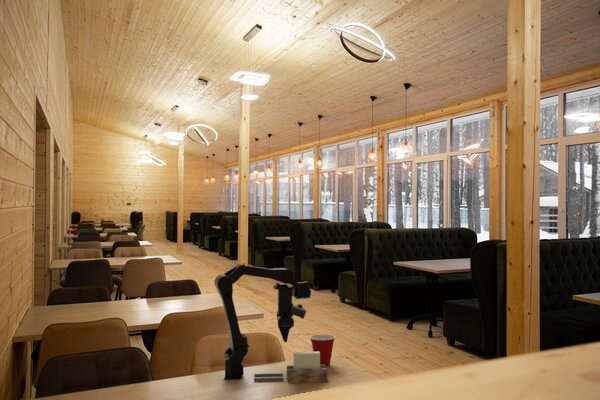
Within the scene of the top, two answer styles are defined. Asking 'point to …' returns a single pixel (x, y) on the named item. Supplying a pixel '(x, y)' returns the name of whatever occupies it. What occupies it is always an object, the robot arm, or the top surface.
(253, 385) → the top surface
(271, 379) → the grey upright bracket
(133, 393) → the top surface
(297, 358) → the door panel
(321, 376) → the track plinth
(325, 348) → the plastic cup
